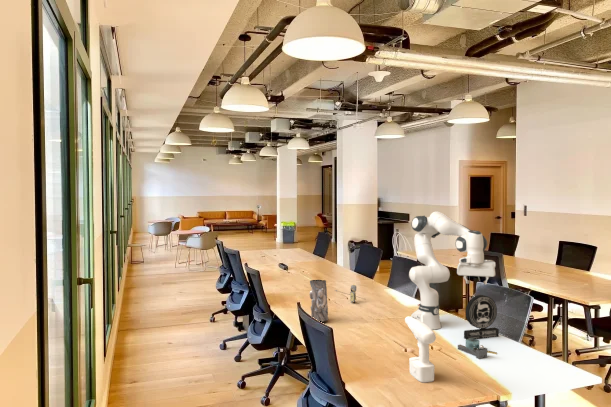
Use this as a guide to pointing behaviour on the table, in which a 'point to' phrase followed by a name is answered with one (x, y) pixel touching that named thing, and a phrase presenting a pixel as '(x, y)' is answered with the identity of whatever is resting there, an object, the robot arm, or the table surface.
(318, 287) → the sculpture
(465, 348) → the grey t-shaped bar
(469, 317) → the decorative sign
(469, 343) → the green knobbed cube
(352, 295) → the toy
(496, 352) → the gold ball-headed pin
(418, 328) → the power drill
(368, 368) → the table surface
